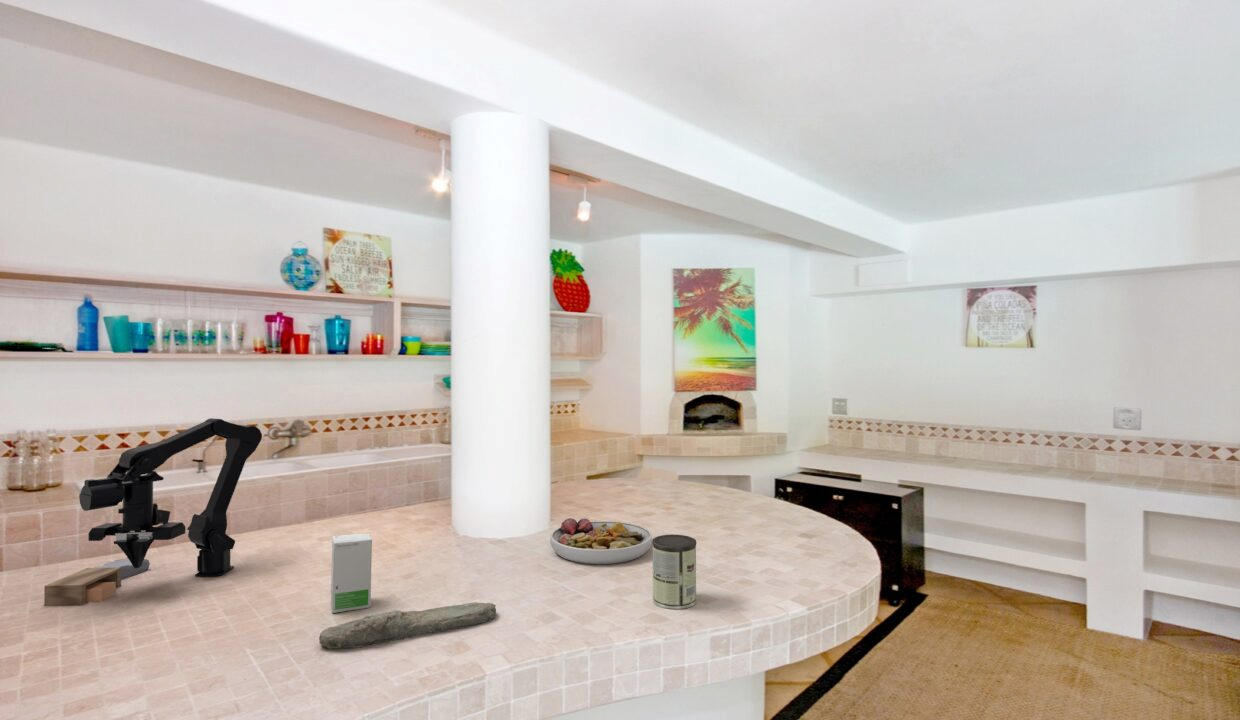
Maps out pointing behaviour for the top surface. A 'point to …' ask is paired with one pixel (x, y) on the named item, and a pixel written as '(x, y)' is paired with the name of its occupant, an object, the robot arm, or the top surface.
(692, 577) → the coffee can
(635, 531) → the bowl
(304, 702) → the top surface
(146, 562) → the stone block
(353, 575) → the skincare box
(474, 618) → the elongated rock
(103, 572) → the shelf
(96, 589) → the peach cardboard box
